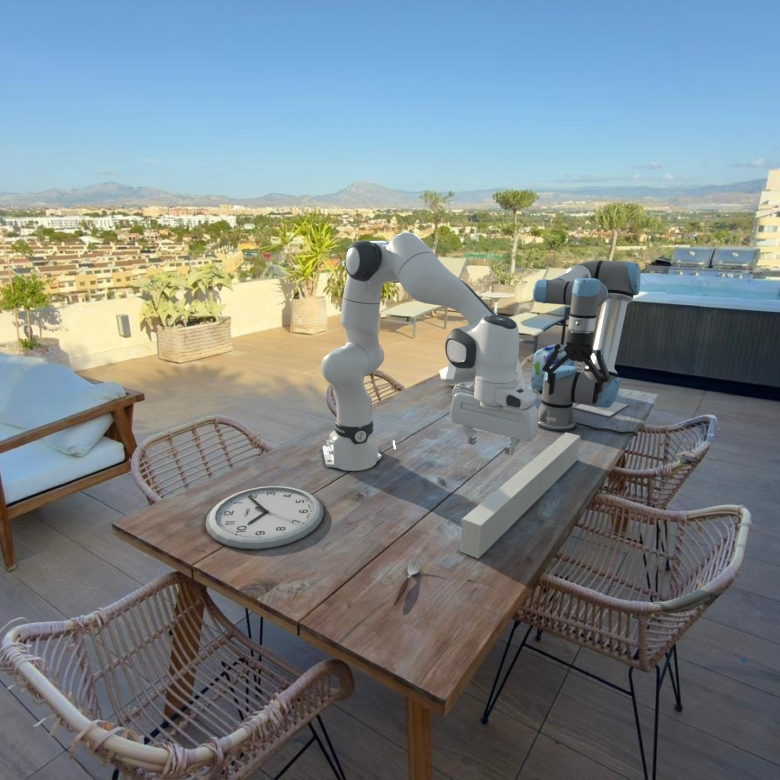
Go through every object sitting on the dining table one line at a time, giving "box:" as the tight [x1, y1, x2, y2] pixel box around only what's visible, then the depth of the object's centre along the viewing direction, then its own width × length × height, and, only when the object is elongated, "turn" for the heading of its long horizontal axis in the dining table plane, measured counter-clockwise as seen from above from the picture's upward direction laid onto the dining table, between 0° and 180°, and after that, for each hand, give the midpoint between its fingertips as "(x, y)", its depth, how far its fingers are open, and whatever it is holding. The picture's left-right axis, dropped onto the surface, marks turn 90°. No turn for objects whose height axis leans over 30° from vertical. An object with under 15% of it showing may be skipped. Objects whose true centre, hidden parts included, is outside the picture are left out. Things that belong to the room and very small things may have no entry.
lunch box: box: [530, 343, 575, 392], centre depth 248 cm, size 26×11×21 cm, turn 134°
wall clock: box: [205, 485, 325, 550], centre depth 137 cm, size 30×2×30 cm
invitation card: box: [573, 401, 629, 418], centre depth 226 cm, size 21×1×15 cm
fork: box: [393, 553, 424, 606], centre depth 112 cm, size 3×16×2 cm, turn 160°
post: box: [459, 431, 581, 560], centre depth 147 cm, size 69×5×9 cm, turn 143°
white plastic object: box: [438, 310, 529, 390], centre depth 245 cm, size 37×45×31 cm
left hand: (490, 448), depth 119 cm, fingers open, 8 cm apart
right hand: (572, 398), depth 163 cm, fingers open, 13 cm apart
